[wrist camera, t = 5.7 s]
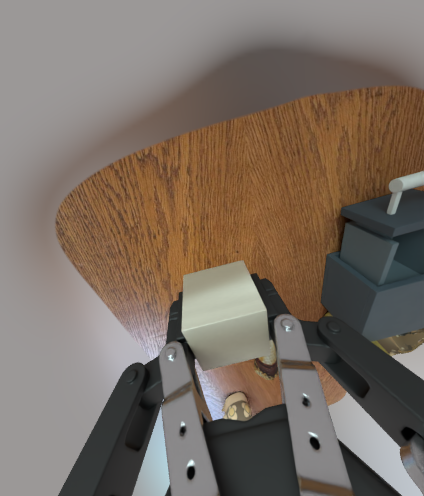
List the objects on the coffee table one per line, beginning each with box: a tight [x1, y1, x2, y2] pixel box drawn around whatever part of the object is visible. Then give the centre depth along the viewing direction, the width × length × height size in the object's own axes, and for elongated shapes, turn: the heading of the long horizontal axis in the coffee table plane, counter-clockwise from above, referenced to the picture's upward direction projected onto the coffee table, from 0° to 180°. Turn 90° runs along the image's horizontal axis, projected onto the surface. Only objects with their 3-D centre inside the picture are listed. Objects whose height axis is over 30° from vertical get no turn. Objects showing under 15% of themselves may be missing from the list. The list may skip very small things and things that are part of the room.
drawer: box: [339, 171, 424, 287], centre depth 25 cm, size 16×11×8 cm, turn 14°
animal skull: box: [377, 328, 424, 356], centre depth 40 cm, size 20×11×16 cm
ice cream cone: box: [254, 340, 278, 380], centre depth 42 cm, size 6×6×15 cm
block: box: [181, 260, 271, 371], centre depth 11 cm, size 4×4×4 cm
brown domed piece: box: [222, 392, 252, 421], centre depth 57 cm, size 10×11×15 cm
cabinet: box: [321, 251, 424, 342], centre depth 31 cm, size 13×12×10 cm
